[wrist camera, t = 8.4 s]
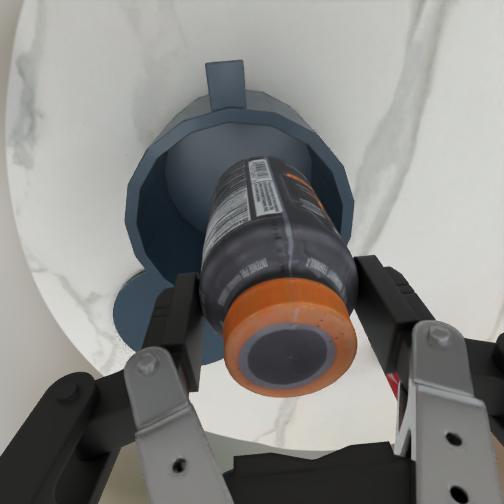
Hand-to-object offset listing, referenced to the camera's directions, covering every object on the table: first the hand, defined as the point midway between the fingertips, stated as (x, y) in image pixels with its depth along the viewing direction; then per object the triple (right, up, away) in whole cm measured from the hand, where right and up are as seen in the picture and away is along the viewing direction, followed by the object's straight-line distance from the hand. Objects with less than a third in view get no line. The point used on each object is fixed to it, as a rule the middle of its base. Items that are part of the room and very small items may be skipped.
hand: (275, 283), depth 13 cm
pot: (-2, +10, +24) cm, 26 cm away
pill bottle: (0, +4, +7) cm, 8 cm away
